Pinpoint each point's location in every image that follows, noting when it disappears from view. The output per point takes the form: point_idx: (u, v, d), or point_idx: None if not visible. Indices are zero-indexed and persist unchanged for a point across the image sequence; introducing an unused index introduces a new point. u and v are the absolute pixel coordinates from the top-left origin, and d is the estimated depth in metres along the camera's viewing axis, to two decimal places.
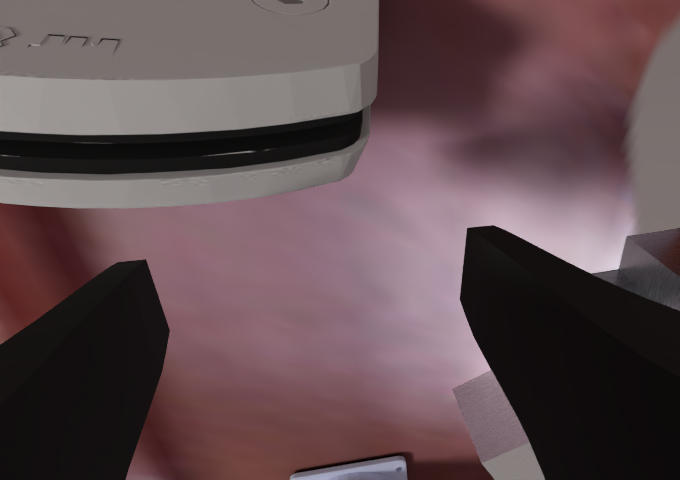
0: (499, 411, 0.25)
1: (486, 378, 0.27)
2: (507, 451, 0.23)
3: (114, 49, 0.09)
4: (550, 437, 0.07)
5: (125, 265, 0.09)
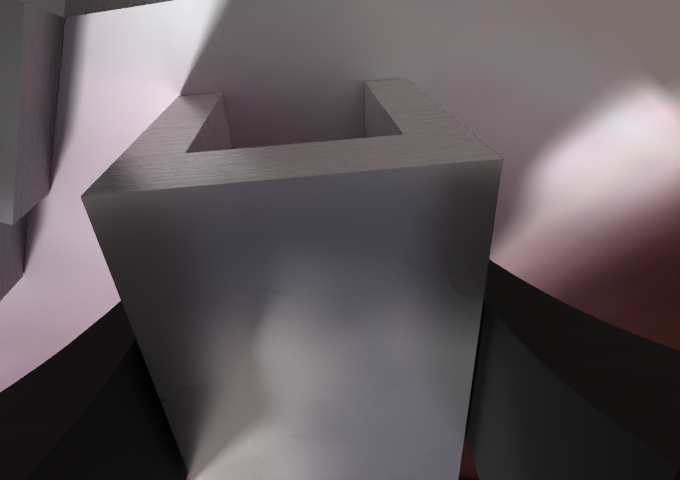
0: None
1: None
2: None
3: None
4: (484, 445, 0.07)
5: None
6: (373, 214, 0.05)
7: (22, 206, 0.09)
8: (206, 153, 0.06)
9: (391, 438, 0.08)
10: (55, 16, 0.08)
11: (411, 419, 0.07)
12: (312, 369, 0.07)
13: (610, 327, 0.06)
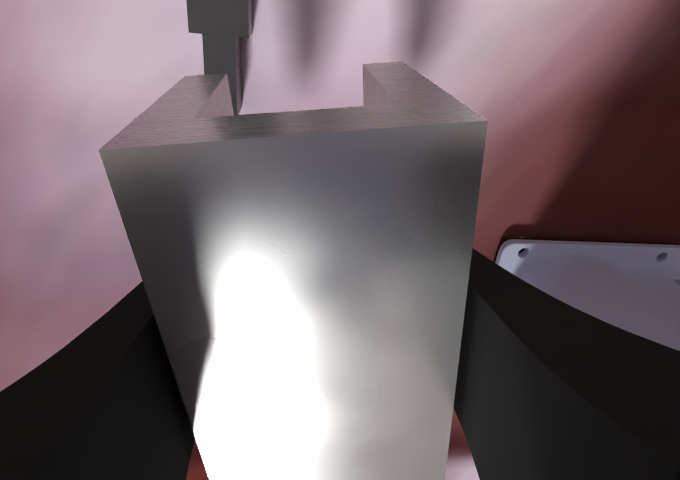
0: None
1: None
2: None
3: None
4: (485, 445, 0.07)
5: None
6: (368, 172, 0.06)
7: (249, 28, 0.14)
8: (213, 118, 0.06)
9: (386, 398, 0.08)
10: None
11: (404, 378, 0.08)
12: (310, 325, 0.07)
13: (611, 327, 0.06)
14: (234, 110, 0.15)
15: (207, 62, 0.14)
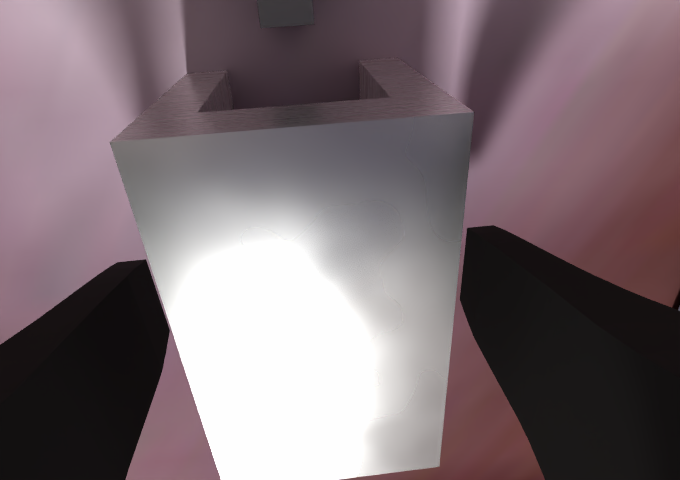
0: None
1: None
2: (212, 450, 0.09)
3: None
4: (550, 437, 0.07)
5: (125, 265, 0.09)
6: (362, 161, 0.06)
7: None
8: (216, 112, 0.07)
9: (382, 379, 0.08)
10: None
11: (399, 360, 0.08)
12: (309, 309, 0.07)
13: None
14: (308, 11, 0.08)
15: None
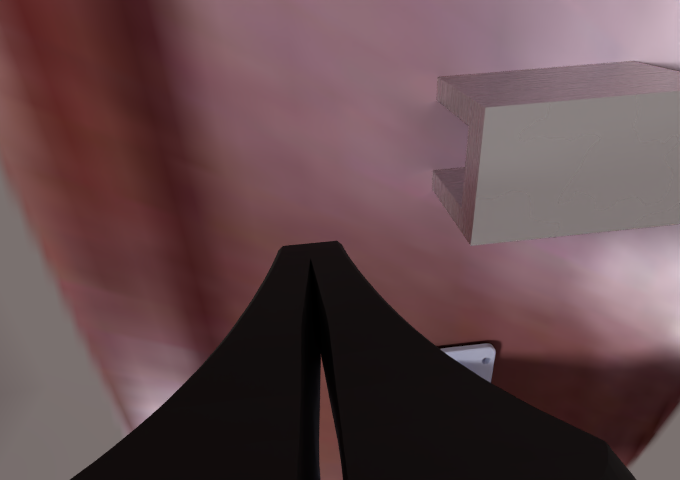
0: (518, 86, 0.15)
1: (496, 74, 0.17)
2: (534, 103, 0.13)
3: None
4: None
5: (295, 248, 0.09)
6: None
7: None
8: None
9: (562, 204, 0.15)
10: None
11: (572, 211, 0.15)
12: (623, 165, 0.15)
13: (430, 348, 0.06)
14: None
15: None
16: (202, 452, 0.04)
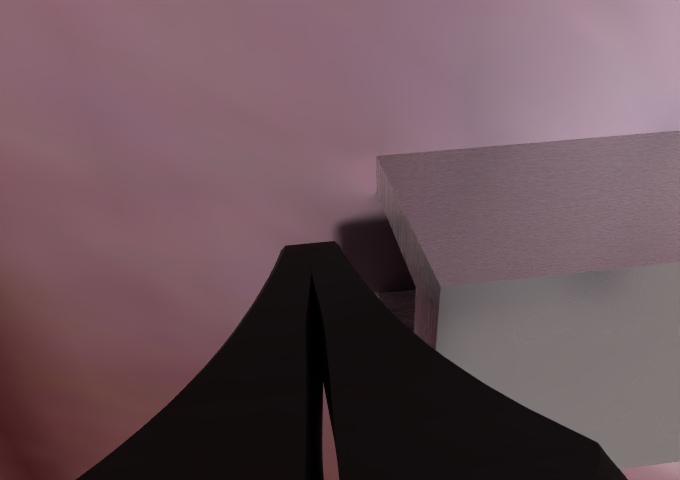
0: (516, 199, 0.08)
1: (477, 155, 0.10)
2: (551, 274, 0.06)
3: None
4: None
5: (298, 248, 0.09)
6: None
7: None
8: None
9: (598, 430, 0.08)
10: None
11: (618, 439, 0.08)
12: None
13: (425, 348, 0.06)
14: None
15: None
16: (208, 452, 0.04)
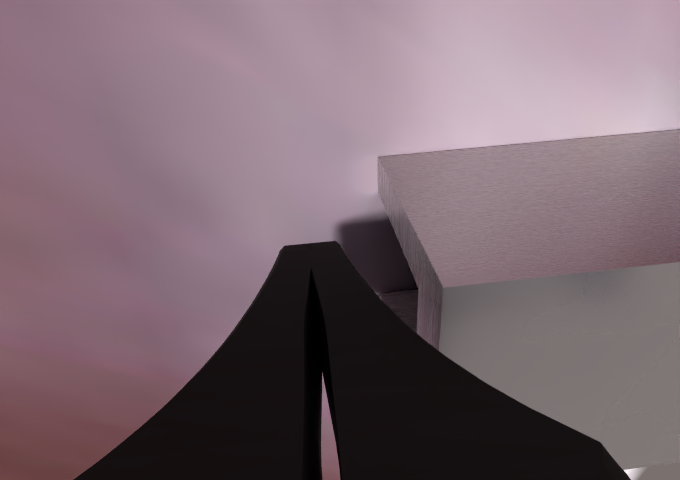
0: (519, 199, 0.08)
1: (479, 155, 0.10)
2: (554, 274, 0.06)
3: None
4: (339, 464, 0.07)
5: (297, 248, 0.09)
6: None
7: None
8: None
9: (603, 430, 0.08)
10: None
11: (623, 439, 0.08)
12: None
13: (426, 348, 0.06)
14: None
15: None
16: (205, 451, 0.04)
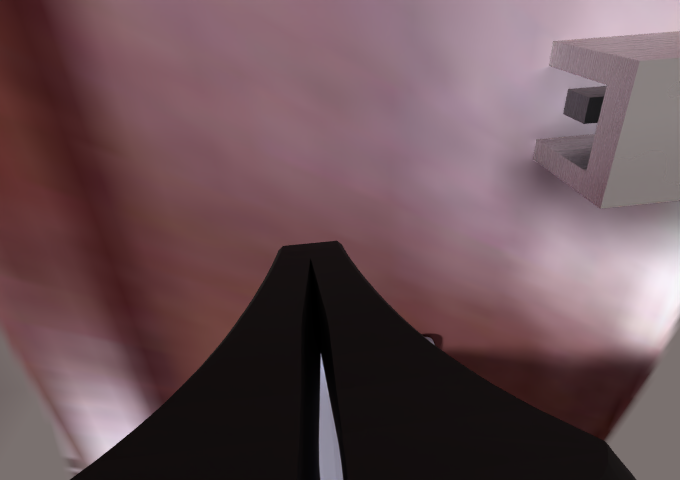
0: (652, 45, 0.15)
1: (613, 38, 0.17)
2: None
3: None
4: None
5: (295, 248, 0.09)
6: None
7: None
8: None
9: None
10: None
11: None
12: None
13: (430, 348, 0.06)
14: (589, 120, 0.17)
15: None
16: (201, 452, 0.04)
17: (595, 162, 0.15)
